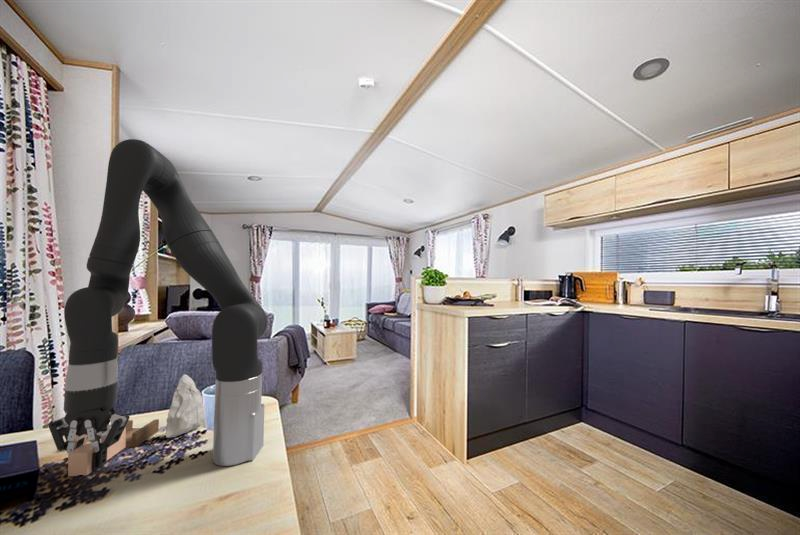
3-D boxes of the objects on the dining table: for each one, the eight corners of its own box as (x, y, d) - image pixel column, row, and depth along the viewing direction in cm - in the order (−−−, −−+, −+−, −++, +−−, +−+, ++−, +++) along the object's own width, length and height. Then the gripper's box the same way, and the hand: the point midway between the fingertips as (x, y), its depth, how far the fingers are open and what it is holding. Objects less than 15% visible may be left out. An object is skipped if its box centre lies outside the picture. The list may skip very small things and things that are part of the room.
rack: (158, 431, 75) (158, 419, 75) (136, 446, 68) (136, 433, 68) (101, 433, 73) (102, 421, 74) (72, 449, 66) (73, 435, 67)
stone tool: (168, 443, 69) (171, 379, 70) (162, 440, 70) (165, 377, 71) (206, 428, 76) (209, 370, 77) (200, 425, 78) (202, 368, 79)
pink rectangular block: (125, 446, 66) (125, 427, 66) (86, 475, 58) (87, 452, 57) (109, 447, 66) (109, 428, 66) (68, 476, 57) (68, 453, 57)
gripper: (143, 376, 65) (139, 456, 64) (74, 377, 63) (68, 459, 62) (113, 388, 57) (108, 479, 56) (33, 390, 56) (27, 483, 55)
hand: (87, 468), depth 59 cm, fingers closed on pink rectangular block, 3 cm apart
